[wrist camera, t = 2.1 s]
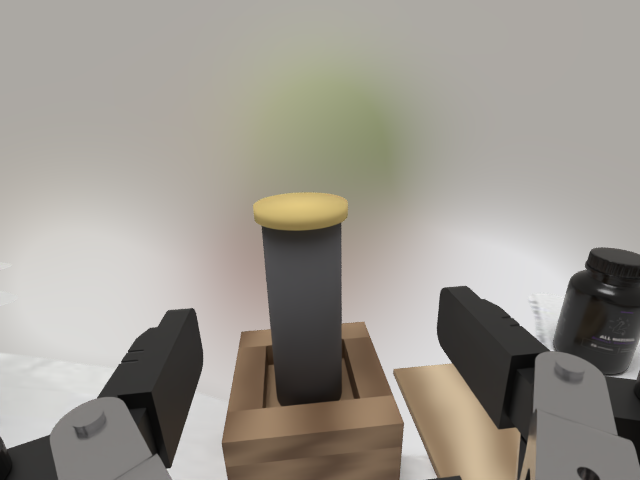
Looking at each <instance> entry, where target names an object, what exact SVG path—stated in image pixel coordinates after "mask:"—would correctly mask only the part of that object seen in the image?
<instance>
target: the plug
mask: <svg viewBox="0 0 640 480" xmlns="http://www.w3.org/2000/svg"><path fill="white" fill-rule="evenodd" d="M253 209H254V219H255V221H256V223H258V224H260V225H261V226H262V234H263V246H264V258H265V269H266V281H267V290H268V291H267V292H268V303H269V313H270V314H269V315H270V326H271V337H272V349H273V360H274V372H275V383H276V394H277V400H278V402H279V404H280V405H281V407H282V406H292V405H301V404H311V403H321V402H331V401H339V400H340V398H341V394H342V317H341V316H342V314H341V313H342V312H341V311H342V307H341V305H342V304H341V222H343V221H344V220H345V219H346V218H347V215H348V202H347V200H346V199H344V198H342V197H340V196H337V195H332V194H326V193H311V192H309V193H308V192H307V193H306V192H304V193H289V194H281V195H275V196H270V197H266V198H263V199H261V200H259V201H257V202H256V203H255V204H254V205H253Z"/></svg>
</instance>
